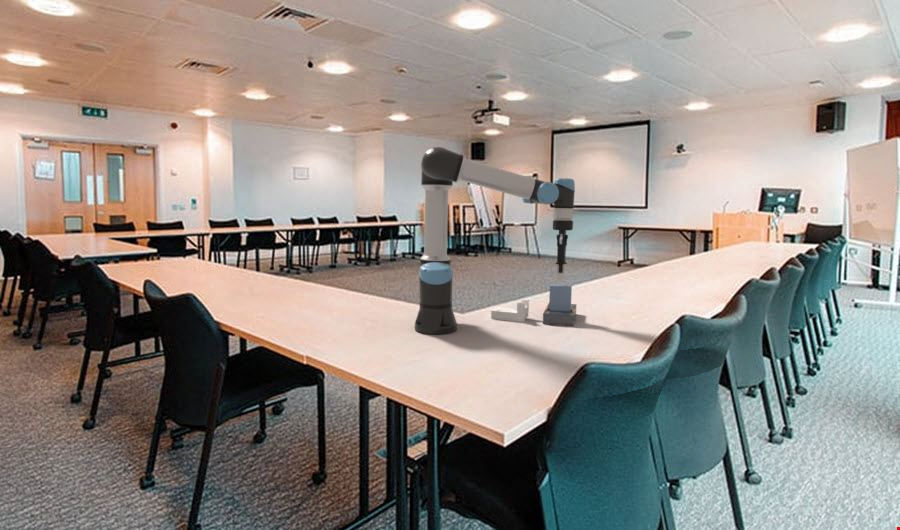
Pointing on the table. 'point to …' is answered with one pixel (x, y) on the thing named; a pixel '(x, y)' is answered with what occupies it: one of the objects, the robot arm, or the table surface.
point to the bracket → (512, 312)
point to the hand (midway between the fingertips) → (560, 280)
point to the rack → (559, 316)
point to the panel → (560, 298)
